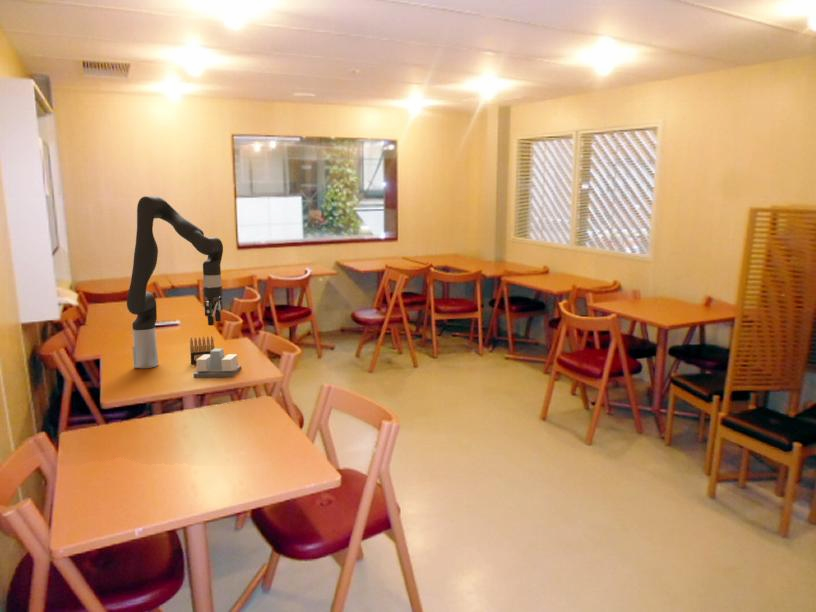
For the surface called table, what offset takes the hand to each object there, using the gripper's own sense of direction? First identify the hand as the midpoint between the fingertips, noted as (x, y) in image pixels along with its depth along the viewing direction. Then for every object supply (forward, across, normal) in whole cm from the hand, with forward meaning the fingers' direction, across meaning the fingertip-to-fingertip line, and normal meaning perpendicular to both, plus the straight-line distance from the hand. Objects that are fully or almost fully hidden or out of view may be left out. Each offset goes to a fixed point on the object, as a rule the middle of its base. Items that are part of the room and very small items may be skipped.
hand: (214, 323), depth 256 cm
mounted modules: (+19, +3, +2) cm, 19 cm away
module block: (+19, +3, +2) cm, 19 cm away
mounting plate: (+21, +3, +2) cm, 21 cm away
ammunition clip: (+21, -15, -12) cm, 28 cm away
